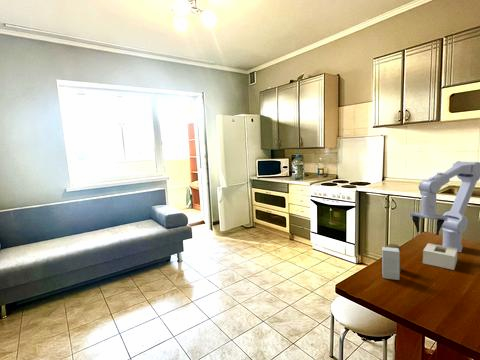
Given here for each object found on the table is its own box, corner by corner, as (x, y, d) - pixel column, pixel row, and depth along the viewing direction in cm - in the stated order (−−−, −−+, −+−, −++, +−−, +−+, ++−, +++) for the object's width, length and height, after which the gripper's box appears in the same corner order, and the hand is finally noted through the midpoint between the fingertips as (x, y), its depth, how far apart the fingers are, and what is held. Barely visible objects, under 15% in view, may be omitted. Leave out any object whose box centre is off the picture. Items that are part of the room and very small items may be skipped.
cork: (397, 265, 118) (397, 242, 117) (404, 272, 112) (404, 247, 111) (382, 265, 119) (383, 242, 118) (389, 272, 113) (389, 247, 112)
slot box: (427, 255, 127) (427, 243, 126) (456, 261, 119) (457, 248, 119) (422, 263, 119) (423, 250, 119) (454, 270, 112) (454, 256, 111)
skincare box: (398, 275, 110) (398, 248, 108) (399, 280, 106) (400, 252, 105) (381, 273, 113) (382, 246, 111) (382, 278, 109) (382, 250, 107)
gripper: (408, 205, 128) (408, 232, 129) (446, 209, 118) (445, 238, 119) (412, 202, 133) (411, 228, 134) (448, 205, 123) (447, 234, 124)
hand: (427, 233), depth 127 cm, fingers open, 7 cm apart
